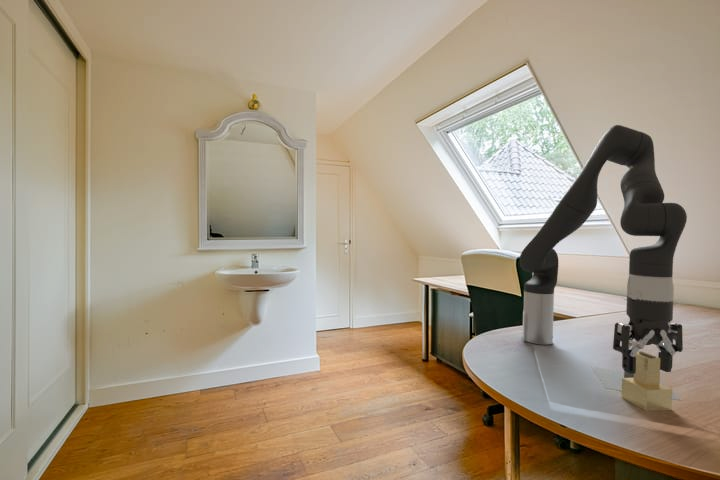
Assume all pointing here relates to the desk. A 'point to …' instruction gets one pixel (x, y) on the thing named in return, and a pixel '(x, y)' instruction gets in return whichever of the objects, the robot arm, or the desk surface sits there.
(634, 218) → the robot arm
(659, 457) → the desk surface
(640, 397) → the cream stepped block
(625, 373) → the thin grey square mat
